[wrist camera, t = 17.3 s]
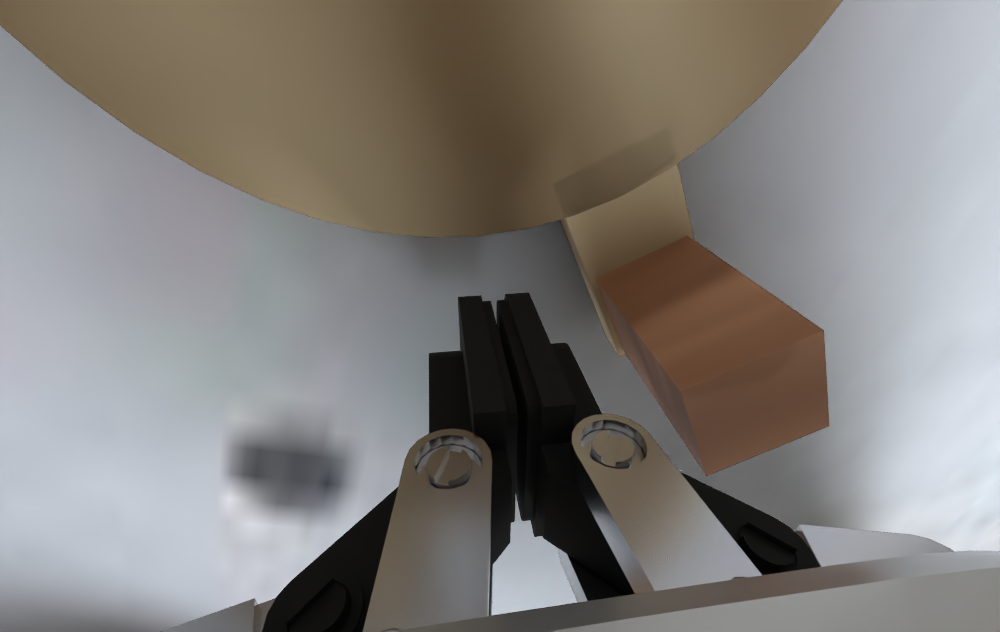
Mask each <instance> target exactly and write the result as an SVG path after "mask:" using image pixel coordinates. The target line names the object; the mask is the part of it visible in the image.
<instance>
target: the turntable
mask: <svg viewBox="0 0 1000 632" xmlns="http://www.w3.org/2000/svg"><path fill="white" fill-rule="evenodd" d="M842 1H843V0H0V25H1V26H2V27H3V28H4V29H5V30H6V31H7V32H9V33H10V34H11V35H12V36H13V37H14V38H16V39H17V40H18V41H19V42H20V43H21V44H22V45H24V46H25V47H26V48H27V49H28V50H29V51H31V52H32V53H33V54H34V55H35V56H36V57H37V58H39V59H40V60H41V61H42V62H43V63H44V64H46V65H47V66H48V67H49V68H50V69H51V70H52V71H54V72H55V73H56V74H57V75H58V76H59V77H60V78H62V79H63V80H64V81H65V82H67V83H68V84H69V85H71V86H72V87H73V88H75V89H76V90H77V91H79V92H80V93H82V94H83V95H84V96H86V97H87V98H88V99H90V100H91V101H93V102H94V103H95V104H97V105H98V106H99V107H101V108H102V109H104V110H105V111H106V112H108V113H109V114H110V115H112V116H113V117H115V118H116V119H117V120H119V121H120V122H121V123H123V124H124V125H126V126H127V127H128V128H130V129H131V130H132V131H134V132H135V133H137V134H139V135H140V136H142V137H144V138H145V139H147V140H149V141H150V142H152V143H154V144H155V145H157V146H159V147H160V148H162V149H164V150H165V151H167V152H169V153H170V154H172V155H174V156H176V157H177V158H179V159H181V160H182V161H184V162H186V163H187V164H189V165H191V166H192V167H194V168H196V169H197V170H199V171H201V172H203V173H205V174H207V175H209V176H212V177H214V178H216V179H218V180H220V181H222V182H224V183H226V184H229V185H231V186H233V187H235V188H237V189H239V190H241V191H244V192H246V193H248V194H250V195H252V196H254V197H256V198H258V199H261V200H263V201H266V202H269V203H272V204H275V205H278V206H281V207H284V208H287V209H289V210H292V211H295V212H298V213H301V214H304V215H307V216H310V217H313V218H315V219H318V220H323V221H327V222H332V223H336V224H341V225H345V226H349V227H354V228H358V229H363V230H367V231H372V232H379V233H389V234H399V235H409V236H419V237H463V236H482V235H489V234H496V233H502V232H509V231H516V230H523V229H528V228H532V227H535V226H539V225H543V224H546V223H550V222H553V221H557V220H560V221H561V223H562V226H563V228H564V231H565V233H566V236H567V238H568V241H569V243H570V246H571V248H572V251H573V253H574V256H575V258H576V261H577V263H578V266H579V269H580V271H581V274H582V276H583V279H584V281H585V284H586V286H587V289H588V291H589V294H590V296H591V299H592V301H593V304H594V306H595V309H596V311H597V314H598V316H599V319H600V321H601V324H602V326H603V329H604V331H605V334H606V336H607V338H608V340H609V341H610V343H611V344H612V346H613V347H614V349H615V351H616V352H617V354H618V355H619V357H620V356H623V355H625V354H626V355H627V357H628V358H629V360H630V361H631V363H632V364H633V366H634V367H635V369H636V370H637V372H638V373H639V375H640V376H641V378H642V379H643V381H644V382H645V384H646V385H647V387H648V388H649V390H650V391H651V393H652V394H653V396H654V397H655V399H656V400H657V402H658V403H659V405H660V406H661V408H662V409H663V411H664V413H665V414H666V416H667V417H668V419H669V420H670V422H671V423H672V425H673V426H674V428H675V429H676V431H677V432H678V434H679V435H680V437H681V438H682V440H683V441H684V443H685V444H686V446H687V447H688V449H689V450H690V452H691V453H692V455H693V456H694V458H695V459H696V461H697V462H698V464H699V465H700V467H701V468H702V470H703V471H704V473H705V474H706V476H708V475H710V474H713V473H715V472H718V471H720V470H722V469H725V468H727V467H730V466H732V465H735V464H737V463H740V462H742V461H745V460H747V459H749V458H752V457H754V456H757V455H759V454H762V453H764V452H767V451H769V450H772V449H774V448H777V447H779V446H781V445H784V444H786V443H789V442H791V441H794V440H796V439H799V438H801V437H804V436H806V435H808V434H811V433H813V432H816V431H818V430H821V429H823V428H826V427H828V426H829V413H828V395H827V377H826V360H825V342H824V330H822V329H821V328H820V327H818V326H817V325H815V324H814V323H812V322H811V321H810V320H808V319H807V318H805V317H804V316H802V315H801V314H799V313H798V312H797V311H795V310H794V309H792V308H791V307H789V306H788V305H786V304H785V303H784V302H782V301H781V300H779V299H778V298H776V297H775V296H774V295H772V294H771V293H769V292H768V291H766V290H765V289H763V288H762V287H761V286H759V285H758V284H756V283H755V282H753V281H752V280H751V279H749V278H748V277H746V276H745V275H743V274H742V273H740V272H739V271H738V270H736V269H735V268H733V267H732V266H730V265H729V264H727V263H726V262H725V261H723V260H722V259H720V258H719V257H717V256H716V255H715V254H713V253H712V252H710V251H709V250H707V249H706V248H704V247H703V246H702V245H700V244H699V243H697V242H696V241H695V240H694V236H693V231H692V227H691V223H690V218H689V214H688V209H687V205H686V200H685V196H684V191H683V187H682V183H681V178H680V174H679V169H678V165H677V164H678V163H679V162H680V161H682V160H683V159H685V158H686V157H687V156H689V155H690V154H692V153H693V152H694V151H696V150H697V149H699V148H700V147H701V146H703V145H704V144H706V143H707V142H708V141H710V140H711V139H713V138H714V137H715V136H716V135H717V134H719V133H720V132H721V131H722V130H723V129H724V128H725V127H727V126H728V125H729V124H730V123H731V122H732V121H733V120H734V119H736V118H737V117H738V116H739V115H740V114H741V113H742V112H743V111H745V110H746V109H747V108H748V107H749V106H750V105H751V104H752V103H754V102H755V101H756V100H757V99H758V98H759V97H760V96H761V95H762V94H763V93H764V92H765V91H766V90H767V89H768V88H769V87H770V86H771V85H772V83H773V82H774V81H775V80H776V79H777V78H778V77H779V76H780V75H781V74H782V73H783V72H784V71H785V70H786V68H787V67H788V66H789V65H790V64H791V63H792V62H793V61H794V60H795V59H796V58H797V57H798V56H799V55H800V53H801V52H802V51H803V50H804V49H805V48H806V47H807V46H808V44H809V43H810V42H811V40H812V39H813V38H814V37H815V35H816V34H817V33H818V31H819V30H820V29H821V28H822V26H823V25H824V24H825V22H826V21H827V20H828V19H829V17H830V16H831V15H832V13H833V12H834V11H835V10H836V8H837V7H838V6H839V4H840V3H841V2H842Z"/></svg>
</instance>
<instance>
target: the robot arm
mask: <svg viewBox="0 0 1000 632" xmlns="http://www.w3.org/2000/svg"><path fill="white" fill-rule="evenodd" d="M458 308H459V329H460V350H461V351H451V352H438V353H429V434H427V435H426V436H424V437H423V438H421V439H419V440H418V441H417V442H416V443H415V444H414V445H413V446H412V447H411V449H410V450H409V452H408V454H407V456H406V459H405V462H404V466H403V470H402V474H401V478H400V482H399V486H398V487H397V488H396V489H395V490H394V491H393V492H392V493H391V494H389V495H388V496H387V497H386V498H385V499H384V500H383V501H382V502H380V503H379V504H378V505H377V506H376V507H375V508H374V509H372V510H371V511H370V512H369V513H368V514H367V515H366V516H364V517H363V518H362V519H361V520H360V521H359V522H358V523H356V524H355V525H354V526H353V527H352V528H351V529H350V530H349V531H347V532H346V533H345V534H344V535H343V536H342V537H341V538H339V539H338V540H337V541H336V542H335V543H334V544H333V545H331V546H330V547H329V548H328V549H327V550H326V551H325V552H323V553H322V554H321V555H320V556H319V557H318V558H317V559H316V560H314V561H313V562H312V563H311V564H310V565H309V566H308V567H306V568H305V569H304V570H303V571H302V572H301V573H300V574H298V575H297V576H296V577H295V578H294V579H293V580H292V581H291V582H290V583H289V584H288V585H287V586H286V587H285V588H284V589H283V590H282V591H281V592H280V594H279V595H278V596H277V597H276V598H275V599H272V600H270V601H267V602H264V603H261V604H257V602H256V600H255V598H254V599H252V600H249V601H246V602H243V603H240V604H237V605H235V606H232V607H229V608H226V609H223V610H221V611H218V612H215V613H212V614H209V615H206V616H204V617H201V618H198V619H195V620H192V621H189V622H187V623H184V624H181V625H178V626H175V627H173V628H170V629H167V630H164V631H161V632H1000V551H956V552H954V551H953V550H951V549H950V548H948V547H946V546H944V545H942V544H940V543H938V542H935V541H933V540H931V539H928V538H924V537H920V536H916V535H910V534H899V533H889V532H878V531H867V530H856V529H846V528H835V527H824V526H813V525H802V524H799V525H798V527H797V529H796V530H792V529H791V528H790V527H789V526H787V525H785V524H784V523H782V522H780V521H779V520H777V519H775V518H774V517H772V516H770V515H768V514H766V513H764V512H762V511H760V510H757V509H755V508H753V507H751V506H749V505H747V504H745V503H743V502H741V501H739V500H737V499H735V498H733V497H731V496H729V495H727V494H725V493H723V492H720V491H718V490H716V489H714V488H712V487H710V486H708V485H706V484H704V483H702V482H700V481H698V480H696V479H694V478H692V477H690V476H688V475H686V474H683V473H681V472H680V471H679V470H678V469H677V468H676V466H675V465H674V464H673V463H672V461H671V460H670V459H669V458H668V456H667V455H666V454H665V453H664V451H663V450H662V449H661V448H660V446H659V445H658V444H657V443H656V441H655V440H654V439H653V438H652V436H651V435H650V434H649V433H648V432H647V431H646V430H645V429H644V428H643V427H642V426H641V425H639V424H637V423H635V422H634V421H632V420H630V419H627V418H625V417H622V416H619V415H611V414H602V413H601V411H600V409H599V407H598V405H597V403H596V401H595V399H594V397H593V395H592V393H591V391H590V388H589V386H588V384H587V382H586V380H585V378H584V376H583V374H582V372H581V370H580V368H579V366H578V364H577V362H576V360H575V358H574V355H573V353H572V351H571V349H570V347H569V346H568V344H566V343H557V344H550V341H549V339H548V337H547V334H546V332H545V330H544V327H543V325H542V322H541V320H540V318H539V315H538V313H537V311H536V308H535V306H534V304H533V301H532V299H531V297H530V294H529V293H515V294H505V300H498V301H497V324H496V320H495V316H494V312H493V309H492V305H491V301H482V297H481V296H466V297H458ZM515 494H516V496H517V501H518V506H519V511H520V516H521V519H522V521H527V520H531V524H532V528H533V533H534V537H537V536H543V538H544V539H545V540H547V541H548V542H550V543H551V544H553V545H554V546H556V547H557V548H559V549H558V553H559V557H560V561H561V564H562V567H563V569H564V572H565V574H566V576H567V579H568V581H569V583H570V586H571V588H572V591H573V593H574V595H575V598H576V600H577V602H578V603H572V604H565V605H559V606H552V607H546V608H539V609H532V610H526V611H519V612H512V613H506V614H499V615H493V616H492V585H493V564H494V562H495V561H496V560H497V559H498V557H499V556H500V555H501V553H502V552H503V551H504V550H505V548H506V547H507V546H508V544H509V543H510V525H511V522H514V520H515Z"/></svg>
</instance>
